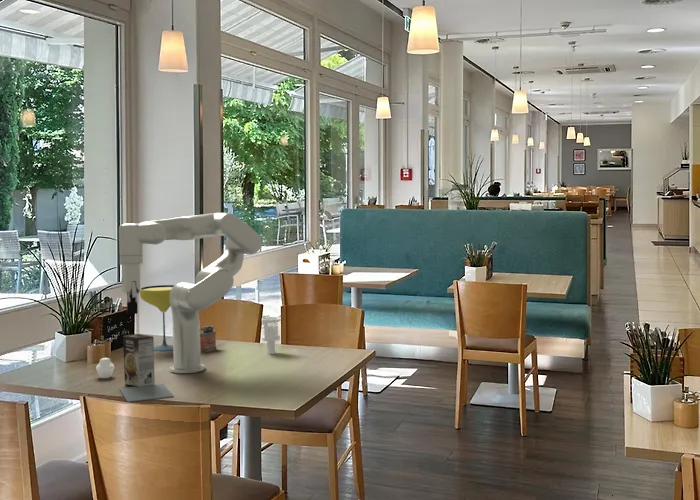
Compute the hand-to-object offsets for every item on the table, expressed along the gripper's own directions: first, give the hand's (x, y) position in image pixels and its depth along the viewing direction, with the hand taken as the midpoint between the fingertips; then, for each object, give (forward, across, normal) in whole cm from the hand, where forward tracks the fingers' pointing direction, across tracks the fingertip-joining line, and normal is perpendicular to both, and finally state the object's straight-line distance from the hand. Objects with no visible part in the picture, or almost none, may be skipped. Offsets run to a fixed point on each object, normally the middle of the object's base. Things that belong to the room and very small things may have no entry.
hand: (132, 313), depth 261 cm
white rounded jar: (+23, -7, -8) cm, 25 cm away
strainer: (+22, -18, +56) cm, 63 cm away
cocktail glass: (+22, -47, +20) cm, 56 cm away
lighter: (+22, -35, +35) cm, 54 cm away
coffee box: (+23, +9, +1) cm, 24 cm away
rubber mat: (+23, +21, +1) cm, 31 cm away
